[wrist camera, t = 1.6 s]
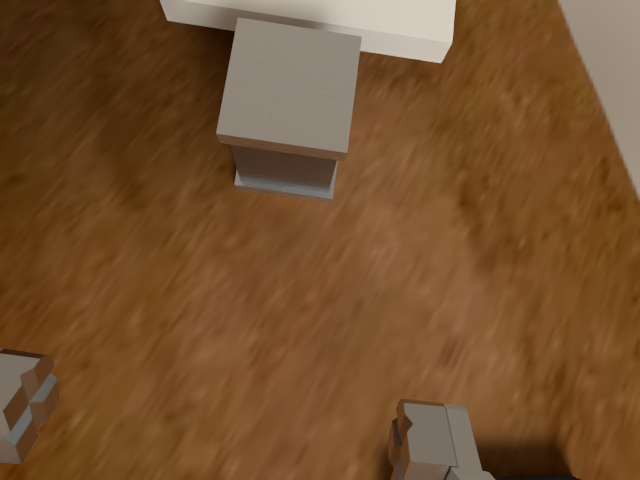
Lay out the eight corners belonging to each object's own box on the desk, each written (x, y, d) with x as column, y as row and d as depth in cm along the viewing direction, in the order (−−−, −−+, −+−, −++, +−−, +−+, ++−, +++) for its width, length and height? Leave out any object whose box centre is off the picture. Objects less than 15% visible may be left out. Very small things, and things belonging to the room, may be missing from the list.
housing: (236, 190, 29) (215, 133, 21) (251, 102, 30) (237, 17, 22) (331, 203, 29) (346, 152, 21) (342, 116, 30) (361, 36, 22)
